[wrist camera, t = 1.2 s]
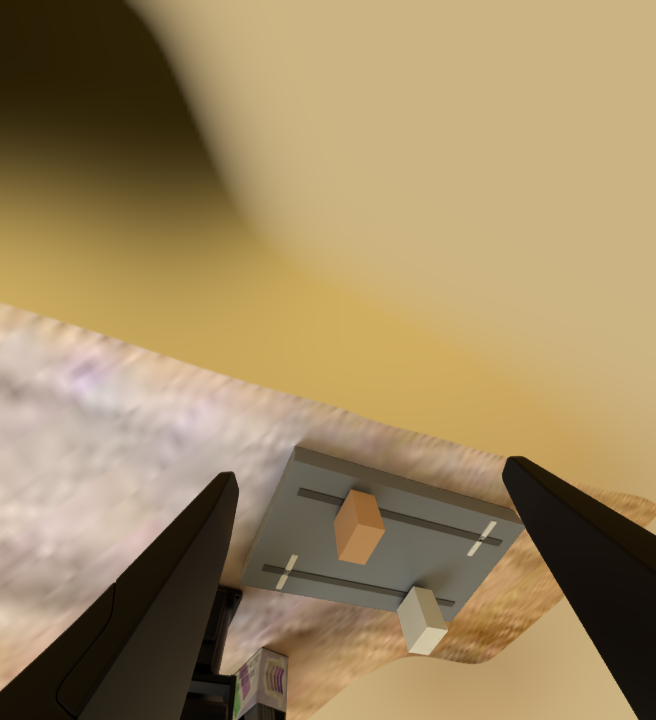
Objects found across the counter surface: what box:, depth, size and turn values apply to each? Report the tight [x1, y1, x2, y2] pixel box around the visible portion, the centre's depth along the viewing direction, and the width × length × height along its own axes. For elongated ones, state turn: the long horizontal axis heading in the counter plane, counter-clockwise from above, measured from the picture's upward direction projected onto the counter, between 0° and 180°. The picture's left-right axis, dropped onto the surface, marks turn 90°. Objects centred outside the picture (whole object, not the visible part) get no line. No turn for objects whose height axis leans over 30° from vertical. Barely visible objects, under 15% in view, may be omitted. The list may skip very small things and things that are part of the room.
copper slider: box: [334, 489, 385, 565], centre depth 23 cm, size 4×2×4 cm, turn 158°
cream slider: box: [397, 586, 448, 655], centre depth 28 cm, size 4×2×4 cm, turn 157°
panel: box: [239, 446, 525, 622], centre depth 29 cm, size 16×26×2 cm, turn 68°
